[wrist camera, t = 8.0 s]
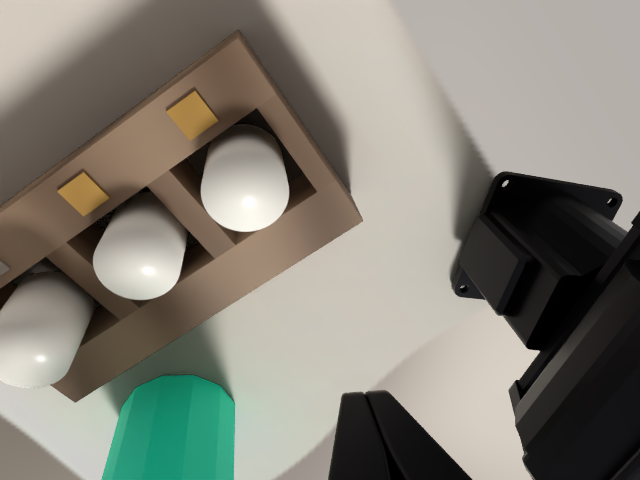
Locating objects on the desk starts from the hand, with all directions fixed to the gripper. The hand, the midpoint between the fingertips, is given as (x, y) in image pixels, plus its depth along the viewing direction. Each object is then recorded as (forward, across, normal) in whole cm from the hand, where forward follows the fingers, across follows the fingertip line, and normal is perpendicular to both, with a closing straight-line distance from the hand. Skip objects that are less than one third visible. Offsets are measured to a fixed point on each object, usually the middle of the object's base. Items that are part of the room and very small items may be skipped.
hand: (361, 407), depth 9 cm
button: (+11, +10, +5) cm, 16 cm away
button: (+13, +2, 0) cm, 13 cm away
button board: (+13, +6, +2) cm, 15 cm away
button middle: (+13, +6, +2) cm, 14 cm away
